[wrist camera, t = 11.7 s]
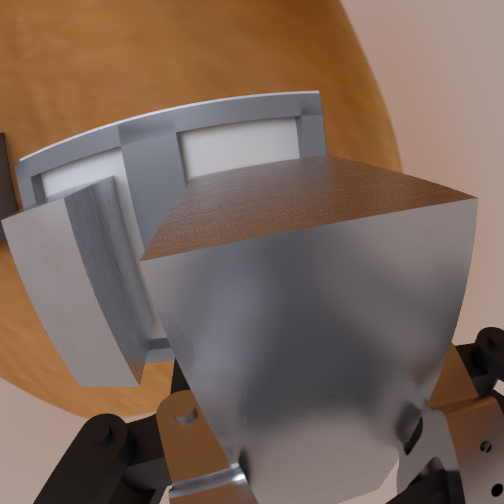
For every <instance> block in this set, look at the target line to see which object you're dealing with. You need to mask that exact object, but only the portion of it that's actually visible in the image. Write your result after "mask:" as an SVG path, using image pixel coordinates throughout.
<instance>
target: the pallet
mask: <svg viewBox="0 0 504 504" xmlns="http://www.w3.org/2000/svg"><path fill="white" fill-rule="evenodd" d="M321 155H325V156H327V151H326V140H325V131H324V122H323V113H322V105H321V97H320V93H319V91H296V92H279V93H266V94H255V95H246V96H237V97H230V98H223V99H216V100H210V101H204V102H198V103H192V104H187V105H182V106H177V107H172V108H168V109H163V110H159V111H155V112H151V113H147V114H143V115H139V116H135V117H132V118H128V119H125V120H121V121H118V122H114V123H111V124H108V125H105V126H102V127H99V128H96V129H93V130H90V131H87V132H84V133H81V134H78V135H76V136H73V137H70V138H68V139H65V140H63V141H60V142H58V143H55V144H53V145H50V146H48V147H45V148H43V149H41V150H39V151H36V152H34V153H32V154H30V155H28V156H25V157H23V158H21V159H20V162H18V163H16V164H14V167H15V172H16V177H17V182H18V187H19V191H20V196H21V200H22V204H23V208H25V207H27V206H29V205H31V204H33V203H36V202H38V201H40V200H42V199H44V198H46V197H48V196H50V195H53V194H55V193H57V192H59V191H62V190H65V189H68V188H72V187H75V186H78V185H81V184H85V183H88V182H91V181H95V180H98V179H102V178H105V177H109V176H113V175H114V180H115V185H116V189H117V194H118V198H119V202H120V207H121V211H122V215H123V219H124V223H125V226H126V230H127V234H128V238H129V241H130V245H131V248H132V252H133V255H134V258H135V262H136V265H137V268H138V271H139V275H140V278H141V281H142V284H143V287H144V290H145V293H146V296H147V299H148V301H149V304H150V307H151V310H152V313H153V315H154V318H155V321H156V322H155V326H154V330H153V333H152V337H151V341H150V345H149V349H148V353H147V357H146V361H145V363H151V362H163V361H173V360H175V358H176V357H175V355H174V352H173V350H172V348H171V346H170V343H169V341H168V339H167V336H166V334H165V331H164V329H163V326H162V324H161V322H160V319H159V317H158V314H157V311H156V309H155V306H154V304H153V301H152V298H151V296H150V293H149V290H148V288H147V285H146V282H145V279H144V276H143V273H142V270H141V268H140V265H139V260H140V259H141V257H142V255H143V253H144V252H145V250H146V248H147V247H148V245H149V243H150V242H151V240H152V238H153V237H154V235H155V233H156V232H157V230H158V229H159V227H160V225H161V224H162V222H163V221H164V219H165V217H166V216H167V214H168V213H169V211H170V210H171V208H172V206H173V205H174V203H175V202H176V200H177V199H178V197H179V196H180V194H181V193H182V191H183V190H184V188H185V187H186V185H187V184H188V182H189V181H190V179H191V178H192V177H196V176H201V175H205V174H210V173H215V172H220V171H225V170H230V169H236V168H241V167H247V166H252V165H258V164H264V163H270V162H277V161H283V160H290V159H297V158H305V157H313V156H321Z"/></svg>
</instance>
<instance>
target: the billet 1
mask: <svg viewBox="0 0 504 504" xmlns="http://www.w3.org/2000/svg"><path fill="white" fill-rule="evenodd" d="M1 222H2V225H3V229H4V232H5V235H6V239H7V242H8V245H9V248H10V251H11V253H12V256H13V259H14V262H15V264H16V267H17V270H18V272H19V275H20V277H21V280H22V282H23V284H24V287H25V289H26V291H27V294H28V296H29V298H30V300H31V302H32V304H33V307H34V309H35V311H36V313H37V315H38V317H39V319H40V321H41V323H42V325H43V327H44V328H45V330H46V332H47V334H48V336H49V338H50V340H51V341H52V343H53V345H54V347H55V348H56V350H57V352H58V353H59V355H60V357H61V358H62V360H63V362H64V363H65V365H66V366H67V368H68V370H69V371H70V373H71V374H72V376H73V377H74V379H75V380H76V382H77V383H78V385H79V386H80V387H134V386H140V382H141V378H142V374H143V369H144V365H145V361H146V357H147V353H148V349H149V345H150V341H151V337H152V333H153V330H154V326H155V322H156V321H155V318H154V315H153V313H152V310H151V307H150V304H149V301H148V299H147V296H146V293H145V290H144V287H143V284H142V281H141V278H140V275H139V271H138V268H137V265H136V262H135V258H134V255H133V252H132V248H131V245H130V241H129V238H128V234H127V230H126V226H125V223H124V219H123V215H122V211H121V207H120V202H119V198H118V194H117V189H116V185H115V180H114V175H113V176H109V177H105V178H102V179H98V180H95V181H91V182H88V183H85V184H81V185H78V186H75V187H72V188H68V189H65V190H62V191H59V192H57V193H55V194H53V195H50V196H48V197H46V198H44V199H42V200H40V201H38V202H36V203H33V204H31V205H29V206H27V207H25V208H23V209H21V210H20V211H18V212H16V213H14V214H12V215H10V216H8V217H6V218H4V219H3V220H1Z"/></svg>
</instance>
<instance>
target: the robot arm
mask: <svg viewBox="0 0 504 504" xmlns="http://www.w3.org/2000/svg"><path fill="white" fill-rule="evenodd" d="M498 379H500V380H501V381H503V382H504V330H502V329H499V328H495V327H487V328H484V329H482V330H481V331H480V332H479V333H478V335H477V338H476V340H475V343H471V344H465V345H457V346H454V345H453V343H452V342H451V344H450V347H449V350H448V353H447V356H446V359H445V362H444V365H443V367H442V370H441V373H440V375H439V378H438V380H437V383H436V385H435V388H434V390H433V392H432V395H431V396H429V397H427V398H426V400H425V402H424V404H423V406H422V408H421V410H420V411H421V415H422V416H421V418H420V420H419V422H418V424H417V426H416V428H415V430H414V432H413V434H412V436H411V438H410V440H409V441H407V442H404V443H403V444H402V445H401V447H400V449H399V450H398V452H399V468H398V472H397V494H398V495H397V496H396V497H395V498H393V499H392V500H390V501H389V502H387V503H386V504H504V396H503V395H501V394H500V393H498V392H497V391H495V390H494V389H493V388H494V386H495V385H496V383H497V381H498ZM169 485H172V489H170V490H169V501H170V504H259V503H258V501H257V499H256V497H255V496H254V494H253V492H252V490H251V488H250V486H249V484H248V482H247V480H246V478H245V476H244V474H243V472H242V470H241V468H240V466H239V464H238V462H237V459H236V457H235V455H234V453H225V452H224V450H223V449H222V447H221V445H220V444H219V442H218V440H217V438H216V437H215V435H214V433H213V431H212V429H211V428H210V426H209V424H208V422H207V420H206V418H205V416H204V415H203V413H202V411H201V409H200V407H199V405H198V403H197V401H196V399H195V397H194V395H193V393H192V391H191V389H190V387H189V385H188V383H187V381H186V379H185V377H184V374H183V372H182V370H181V368H180V366H179V364H178V361H177V359H176V358H175V362H174V370H173V377H172V385H171V393H170V395H169V396H168V397H166V398H165V399H164V400H163V401H162V402H161V403H160V405H159V407H158V409H157V413H156V414H154V415H152V416H150V417H147V418H144V419H141V420H137V421H133V422H130V423H125V422H124V421H123V420H122V419H121V418H120V417H118V416H116V415H114V414H100V415H97V416H94V417H92V418H91V419H89V420H88V421H87V422H86V423H85V424H84V425H83V427H82V428H81V430H80V431H79V433H78V434H77V436H76V438H75V439H74V440H73V442H72V443H71V445H70V446H69V448H68V449H67V451H66V452H65V454H64V455H63V457H62V458H61V460H60V462H59V463H58V465H57V466H56V468H55V469H54V471H53V472H52V474H51V476H50V477H49V479H48V480H47V482H46V483H45V485H44V487H43V488H42V490H41V492H40V493H39V495H38V496H37V498H36V500H35V501H34V503H33V504H159V503H160V501H161V498H162V496H163V493H164V491H165V489H166V487H167V486H169Z"/></svg>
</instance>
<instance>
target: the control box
mask: <svg viewBox="0 0 504 504" xmlns="http://www.w3.org/2000/svg"><path fill="white" fill-rule="evenodd" d="M16 212H18V208H17V204H16V200H15V196H14V191H13V187H12V182H11V177H10V172H9V167H8V161H7V155H6V148H5V140H4V133H0V242H2V241H3V240H5V239H6V235H5V232H4V229H3V225H2V222H1V220H3V219H4V218H6V217H8V216H10V215H12V214H14V213H16Z"/></svg>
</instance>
